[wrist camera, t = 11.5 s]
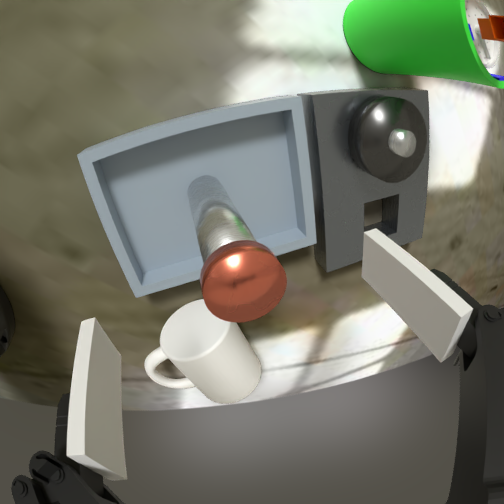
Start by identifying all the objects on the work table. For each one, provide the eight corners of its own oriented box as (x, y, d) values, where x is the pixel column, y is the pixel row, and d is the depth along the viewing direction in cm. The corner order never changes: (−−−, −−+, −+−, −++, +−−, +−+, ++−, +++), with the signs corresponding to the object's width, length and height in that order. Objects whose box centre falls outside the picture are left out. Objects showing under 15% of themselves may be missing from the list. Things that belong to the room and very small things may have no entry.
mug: (221, 287, 32) (238, 339, 26) (251, 340, 38) (270, 388, 31) (128, 328, 32) (127, 383, 25) (171, 373, 37) (178, 423, 31)
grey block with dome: (314, 258, 34) (343, 292, 28) (297, 93, 24) (334, 96, 19) (407, 227, 36) (440, 251, 30) (409, 88, 26) (453, 95, 20)
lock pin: (189, 219, 27) (215, 331, 15) (177, 178, 24) (192, 268, 13) (231, 207, 27) (290, 307, 15) (222, 165, 25) (281, 241, 13)
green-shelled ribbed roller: (413, 64, 25) (557, 90, 10) (363, 84, 25) (527, 115, 10) (384, -8, 20) (529, -22, 5) (327, 4, 20) (488, -34, 5)
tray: (137, 279, 29) (136, 297, 26) (86, 148, 21) (77, 155, 19) (304, 230, 31) (316, 243, 29) (287, 95, 24) (301, 96, 21)
